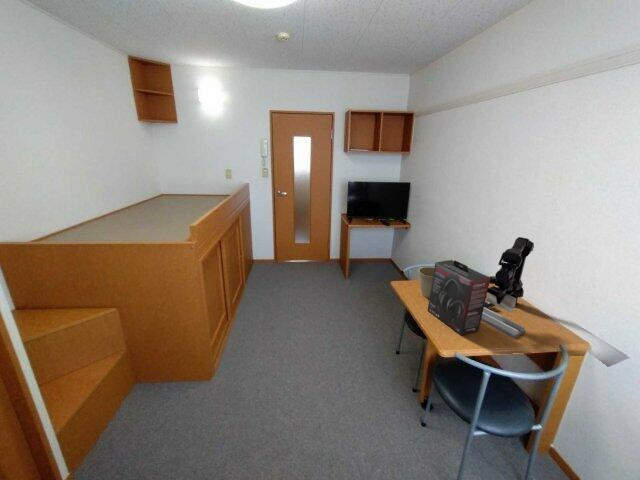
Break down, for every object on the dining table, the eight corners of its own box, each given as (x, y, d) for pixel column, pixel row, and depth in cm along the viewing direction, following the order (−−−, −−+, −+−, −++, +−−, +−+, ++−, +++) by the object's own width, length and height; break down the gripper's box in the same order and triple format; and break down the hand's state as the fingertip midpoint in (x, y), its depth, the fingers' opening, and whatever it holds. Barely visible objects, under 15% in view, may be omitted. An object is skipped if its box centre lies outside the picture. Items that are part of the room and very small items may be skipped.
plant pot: (426, 287, 187) (430, 265, 182) (446, 297, 175) (450, 273, 170) (410, 292, 180) (413, 269, 175) (429, 303, 168) (433, 279, 163)
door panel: (490, 299, 153) (492, 288, 151) (513, 310, 143) (516, 298, 141) (486, 301, 152) (489, 289, 150) (509, 312, 142) (513, 299, 140)
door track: (480, 309, 163) (481, 303, 162) (525, 332, 143) (526, 326, 142) (468, 313, 158) (469, 308, 157) (513, 338, 138) (515, 332, 137)
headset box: (426, 310, 161) (434, 255, 150) (443, 306, 165) (453, 253, 155) (460, 336, 139) (473, 274, 129) (480, 331, 143) (493, 271, 133)
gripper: (501, 266, 153) (495, 292, 158) (479, 272, 145) (474, 300, 150) (524, 274, 144) (516, 301, 149) (502, 281, 135) (495, 310, 140)
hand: (500, 303), depth 147 cm, fingers closed on door panel, 3 cm apart
